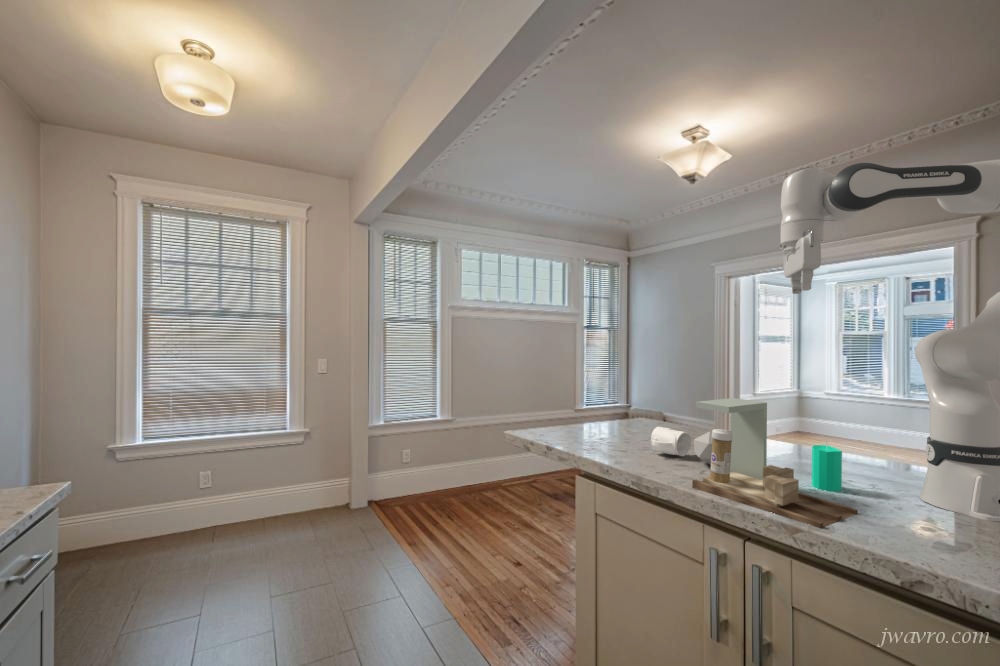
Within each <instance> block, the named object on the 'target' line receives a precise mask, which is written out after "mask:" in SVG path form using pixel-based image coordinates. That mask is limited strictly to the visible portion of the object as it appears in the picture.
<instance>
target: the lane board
mask: <svg viewBox="0 0 1000 666" xmlns="http://www.w3.org/2000/svg"><path fill="white" fill-rule="evenodd" d="M691 486H692V488H693V489H696V490H697V491H698V490H699V491H702V492H705V493H708V494H710V495H714V496H717V497H720V498H723V499H727V500H730V501H733V502H735V503H739V504H742V505H745V506H747V507H752V508H755V509H758V510H762V511H765V512H767V511H768V513H770V512H772V513H771V514H774V513H775V514H774V515H777V516H781V517H783V518H787V519H790V520H792V521H796V522H798V523H799V522H800V523H803V524H805V523H806V525H808V524H810V525H809V526H811V525H812V526H811V527H815V528H819V529H822V528H824V527H827V526H829V525H831V524H835V523H837V522H840V521H842V520H845V519H848V518H851V517H853V516H855V515H858V514H859V509H858V508H854V507H850V506H847V505H844V504H840V503H836V502H833V501H830V500H828V499H827V500H826V499H824V498H821V497H817V496H814V495H810V494H807V493H803V492H800V491H799V492H798V501H795V502H792V503H789V504H788V505H784V506H781V507H776V506H773V505H770V504H767V503H764V502H761V501H758V500H755V499H752V498H749V497H746V496H743V495H740V494H737V493H734V492H731V491H728V490H725V489H722V488H719V487H717V486H714V485H711V484H708V483H705V482H703V480H698V479H692V485H691Z"/></svg>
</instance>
